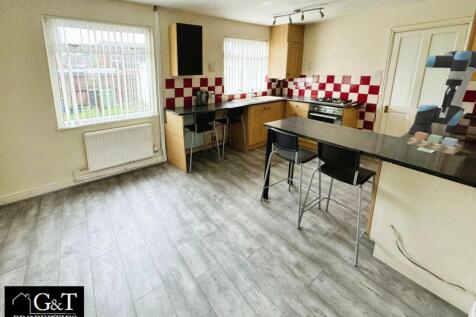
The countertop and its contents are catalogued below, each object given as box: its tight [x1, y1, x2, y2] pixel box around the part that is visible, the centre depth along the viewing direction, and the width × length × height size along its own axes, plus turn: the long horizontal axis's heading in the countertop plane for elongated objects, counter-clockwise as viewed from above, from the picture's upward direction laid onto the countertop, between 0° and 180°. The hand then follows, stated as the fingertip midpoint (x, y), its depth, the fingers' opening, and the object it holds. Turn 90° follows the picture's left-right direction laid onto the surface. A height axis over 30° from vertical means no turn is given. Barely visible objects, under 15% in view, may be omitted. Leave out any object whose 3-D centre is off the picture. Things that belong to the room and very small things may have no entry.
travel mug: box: [444, 107, 466, 134], centre depth 203 cm, size 8×8×20 cm
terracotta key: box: [413, 132, 429, 141], centre depth 170 cm, size 6×6×5 cm
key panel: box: [406, 135, 462, 156], centre depth 165 cm, size 26×12×4 cm, turn 37°
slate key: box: [442, 136, 459, 147], centre depth 158 cm, size 6×6×5 cm
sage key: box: [427, 133, 444, 144], centre depth 164 cm, size 6×6×5 cm
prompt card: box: [416, 147, 435, 154], centre depth 159 cm, size 8×6×1 cm
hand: (442, 117), depth 158 cm, fingers closed
